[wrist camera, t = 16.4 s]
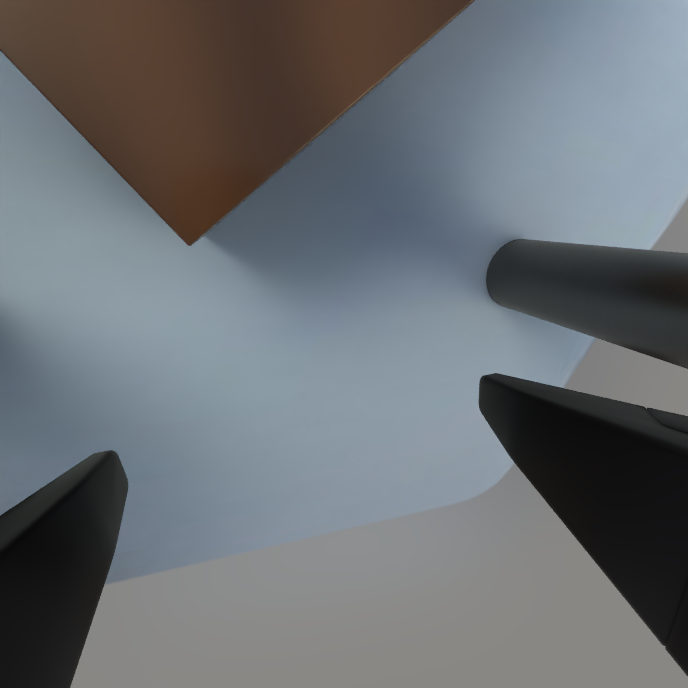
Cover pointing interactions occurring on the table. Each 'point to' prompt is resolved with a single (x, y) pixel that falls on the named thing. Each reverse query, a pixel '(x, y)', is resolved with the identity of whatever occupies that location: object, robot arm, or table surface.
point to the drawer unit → (210, 83)
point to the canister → (599, 292)
